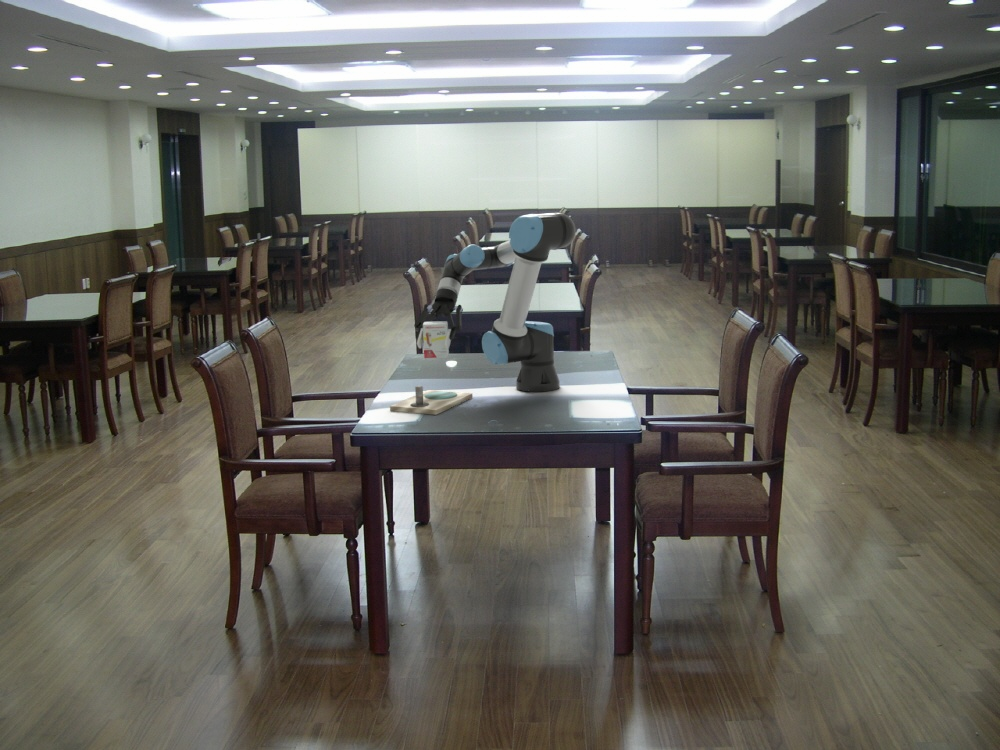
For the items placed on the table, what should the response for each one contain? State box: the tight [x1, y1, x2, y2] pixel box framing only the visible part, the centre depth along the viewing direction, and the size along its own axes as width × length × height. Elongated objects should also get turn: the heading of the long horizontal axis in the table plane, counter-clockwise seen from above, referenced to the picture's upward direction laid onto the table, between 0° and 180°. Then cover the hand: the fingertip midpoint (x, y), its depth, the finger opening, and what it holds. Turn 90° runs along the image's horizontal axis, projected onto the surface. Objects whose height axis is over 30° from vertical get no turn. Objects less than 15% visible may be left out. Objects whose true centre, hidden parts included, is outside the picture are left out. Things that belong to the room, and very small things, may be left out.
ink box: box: [423, 320, 450, 359], centre depth 359 cm, size 9×5×12 cm, turn 91°
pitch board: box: [389, 385, 474, 415], centre depth 346 cm, size 17×25×8 cm
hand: (432, 346), depth 356 cm, fingers closed on ink box, 9 cm apart
